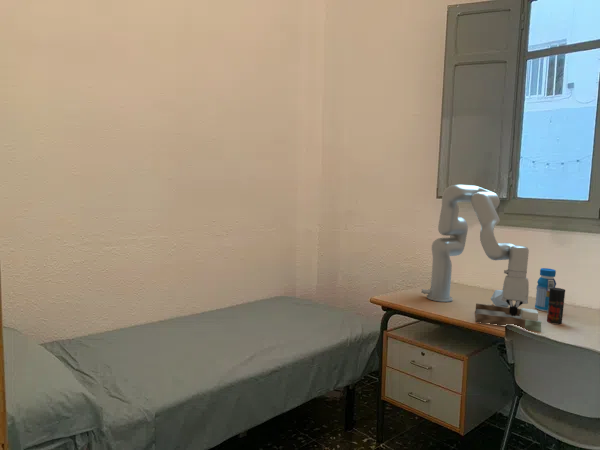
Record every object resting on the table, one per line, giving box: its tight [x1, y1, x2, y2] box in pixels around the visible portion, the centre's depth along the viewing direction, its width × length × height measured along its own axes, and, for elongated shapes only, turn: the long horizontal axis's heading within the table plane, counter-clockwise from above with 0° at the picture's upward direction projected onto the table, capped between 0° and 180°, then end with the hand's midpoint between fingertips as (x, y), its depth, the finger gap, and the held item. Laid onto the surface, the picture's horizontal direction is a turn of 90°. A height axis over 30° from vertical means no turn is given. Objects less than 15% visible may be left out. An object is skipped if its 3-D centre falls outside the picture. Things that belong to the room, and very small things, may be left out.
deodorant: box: [546, 287, 566, 325], centre depth 210 cm, size 6×6×15 cm
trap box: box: [475, 303, 542, 332], centre depth 209 cm, size 25×19×4 cm
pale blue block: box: [521, 307, 539, 321], centre depth 206 cm, size 6×6×4 cm
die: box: [490, 289, 510, 307], centre depth 233 cm, size 8×9×10 cm
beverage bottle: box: [534, 267, 557, 313], centre depth 231 cm, size 8×8×20 cm
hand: (513, 315), depth 208 cm, fingers closed
